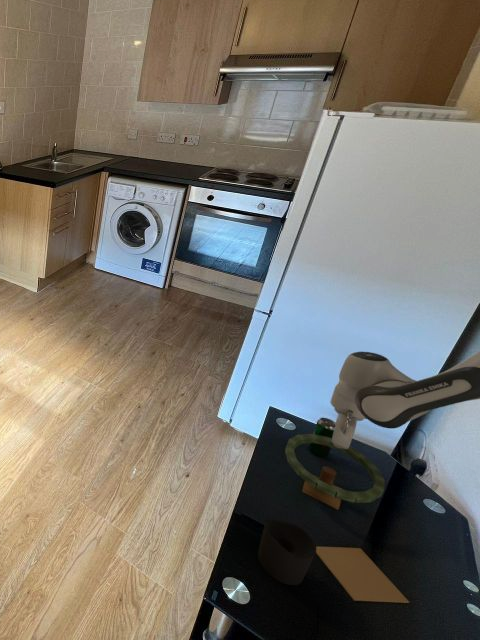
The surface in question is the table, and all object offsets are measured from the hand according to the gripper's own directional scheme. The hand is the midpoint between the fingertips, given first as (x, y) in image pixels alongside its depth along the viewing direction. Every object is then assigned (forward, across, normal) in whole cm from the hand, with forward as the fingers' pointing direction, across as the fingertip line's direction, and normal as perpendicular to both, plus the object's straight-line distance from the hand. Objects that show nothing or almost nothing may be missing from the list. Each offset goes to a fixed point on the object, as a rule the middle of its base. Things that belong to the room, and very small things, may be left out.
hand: (338, 443), depth 119 cm
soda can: (+12, +10, +3) cm, 16 cm away
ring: (+3, -9, 0) cm, 10 cm away
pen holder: (+12, -44, +4) cm, 46 cm away
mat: (+12, -32, -9) cm, 36 cm away
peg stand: (+12, -9, 0) cm, 15 cm away
